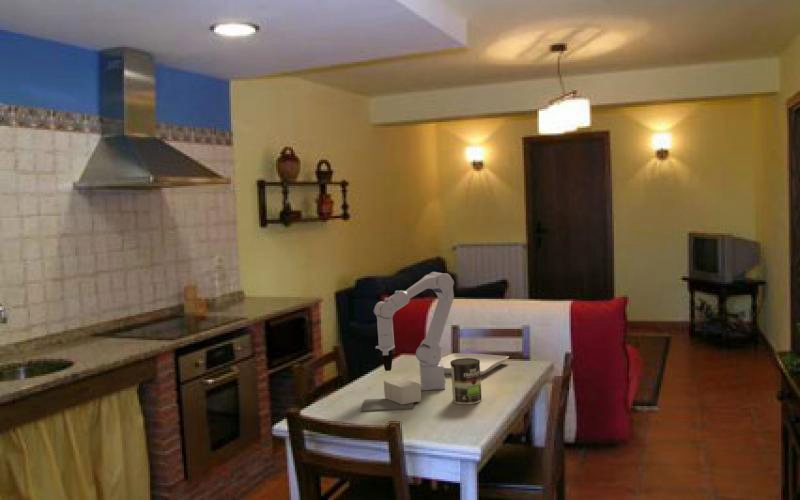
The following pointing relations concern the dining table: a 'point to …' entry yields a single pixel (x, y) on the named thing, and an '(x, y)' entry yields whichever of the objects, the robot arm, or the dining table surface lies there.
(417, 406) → the dining table surface
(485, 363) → the square plate
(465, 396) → the coffee can
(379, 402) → the mat
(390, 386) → the small box
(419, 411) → the dining table surface
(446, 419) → the dining table surface
